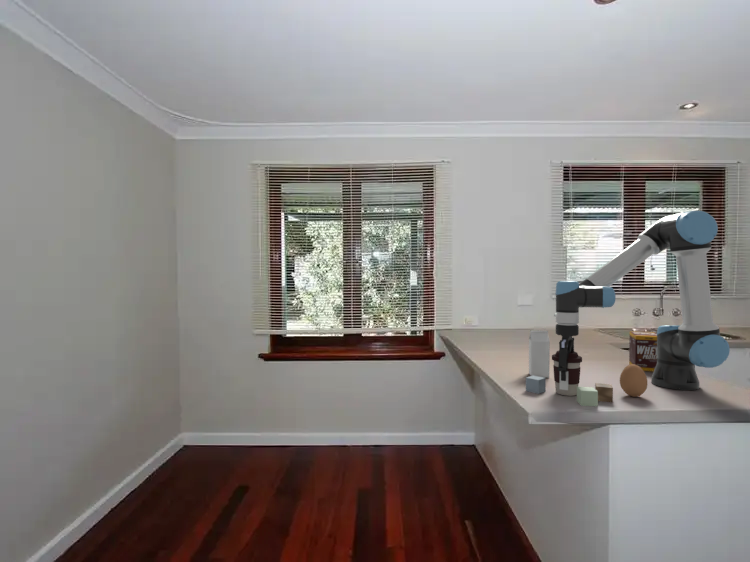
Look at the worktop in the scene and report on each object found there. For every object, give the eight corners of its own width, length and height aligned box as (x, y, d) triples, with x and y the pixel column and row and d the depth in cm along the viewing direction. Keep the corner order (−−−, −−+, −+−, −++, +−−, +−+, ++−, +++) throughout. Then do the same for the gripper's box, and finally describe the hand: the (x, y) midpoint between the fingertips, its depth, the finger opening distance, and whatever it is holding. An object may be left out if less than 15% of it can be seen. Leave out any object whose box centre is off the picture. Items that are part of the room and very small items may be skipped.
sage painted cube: (592, 402, 144) (592, 387, 144) (597, 406, 139) (597, 391, 139) (576, 401, 145) (576, 386, 145) (581, 405, 140) (581, 390, 140)
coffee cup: (545, 391, 157) (545, 350, 156) (565, 388, 160) (565, 348, 160) (567, 398, 147) (567, 355, 147) (588, 395, 151) (588, 353, 151)
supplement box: (634, 370, 189) (635, 335, 189) (628, 363, 204) (629, 330, 203) (662, 372, 185) (662, 336, 185) (654, 365, 200) (654, 331, 199)
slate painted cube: (545, 391, 157) (545, 377, 157) (538, 394, 154) (538, 380, 154) (532, 388, 161) (532, 375, 161) (525, 391, 157) (525, 377, 157)
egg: (636, 401, 144) (637, 367, 144) (614, 394, 152) (614, 363, 152) (652, 398, 148) (653, 365, 148) (630, 392, 155) (630, 361, 155)
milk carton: (549, 378, 176) (549, 331, 176) (531, 377, 178) (531, 331, 177) (546, 373, 183) (546, 329, 183) (528, 373, 185) (528, 329, 184)
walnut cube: (611, 398, 148) (611, 384, 147) (612, 402, 143) (612, 388, 143) (595, 397, 150) (595, 382, 150) (595, 401, 145) (596, 386, 145)
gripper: (562, 320, 164) (561, 378, 165) (548, 326, 147) (548, 391, 147) (583, 321, 160) (583, 381, 161) (572, 328, 142) (572, 395, 143)
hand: (566, 386), depth 154 cm, fingers closed on coffee cup, 9 cm apart
